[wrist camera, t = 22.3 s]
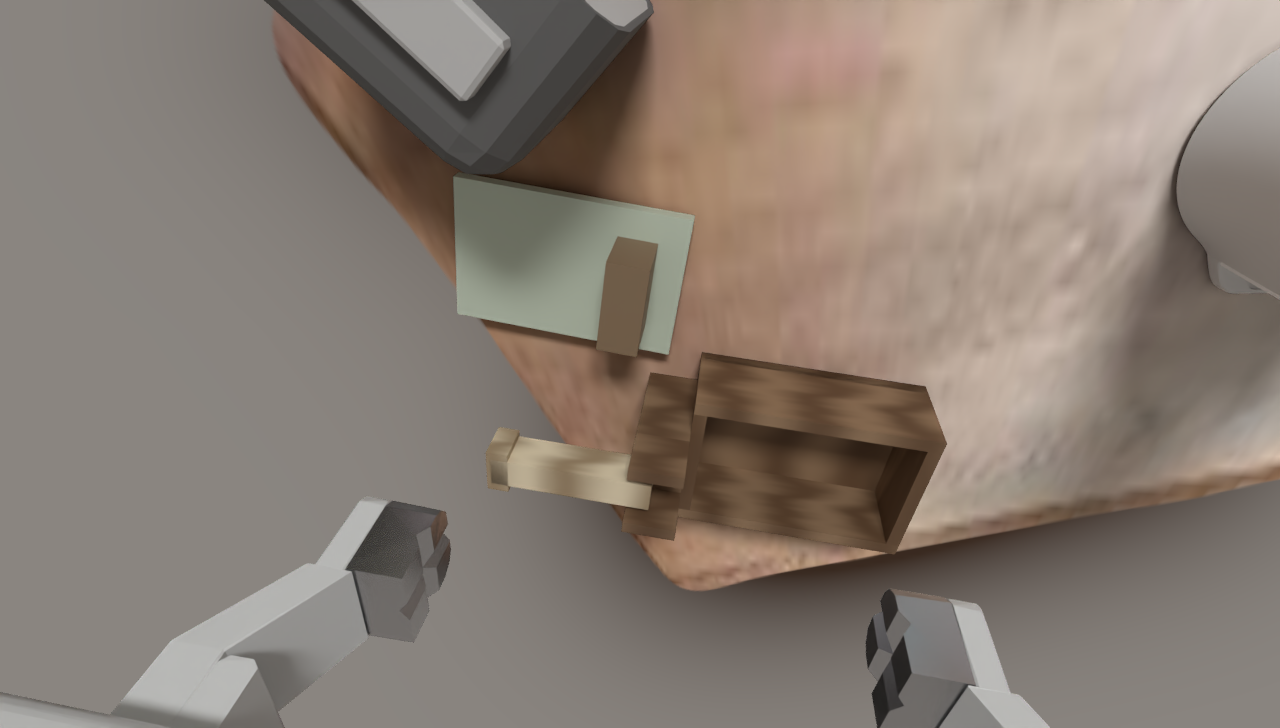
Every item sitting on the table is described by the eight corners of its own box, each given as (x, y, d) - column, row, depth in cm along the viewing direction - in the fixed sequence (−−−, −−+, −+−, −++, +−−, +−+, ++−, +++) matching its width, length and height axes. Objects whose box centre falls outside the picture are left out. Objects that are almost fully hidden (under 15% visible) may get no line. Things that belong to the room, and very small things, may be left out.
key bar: (657, 453, 49) (652, 481, 46) (652, 487, 51) (647, 515, 48) (498, 427, 50) (485, 452, 47) (500, 461, 52) (487, 488, 49)
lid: (696, 210, 47) (688, 246, 42) (670, 341, 53) (661, 387, 48) (463, 168, 48) (426, 197, 42) (466, 302, 54) (434, 342, 49)
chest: (925, 386, 52) (965, 494, 42) (881, 492, 59) (906, 606, 49) (653, 344, 53) (631, 439, 44) (641, 453, 60) (618, 555, 50)
